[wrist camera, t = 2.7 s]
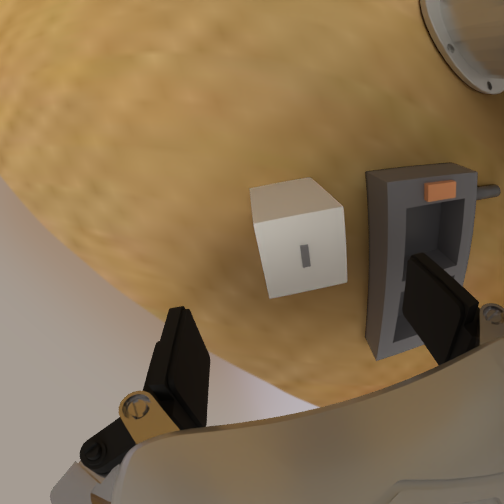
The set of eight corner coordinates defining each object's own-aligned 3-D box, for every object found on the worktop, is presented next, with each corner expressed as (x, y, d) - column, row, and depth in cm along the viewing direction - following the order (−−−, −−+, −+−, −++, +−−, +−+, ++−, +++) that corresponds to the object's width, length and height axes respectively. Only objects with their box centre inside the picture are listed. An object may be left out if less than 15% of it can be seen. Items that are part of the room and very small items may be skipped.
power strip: (365, 171, 19) (390, 184, 15) (495, 160, 18) (523, 170, 14) (365, 336, 26) (377, 364, 23) (475, 298, 25) (492, 316, 22)
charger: (249, 188, 19) (253, 224, 13) (310, 176, 19) (344, 207, 13) (261, 243, 21) (269, 300, 15) (317, 232, 21) (348, 283, 14)
